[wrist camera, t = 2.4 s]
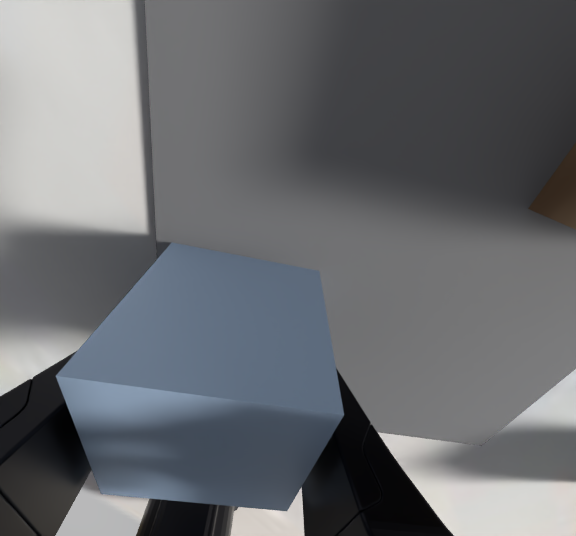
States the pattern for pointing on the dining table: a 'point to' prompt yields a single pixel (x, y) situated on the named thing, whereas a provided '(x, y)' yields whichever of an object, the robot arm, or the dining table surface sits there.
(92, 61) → the dining table surface
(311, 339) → the cube
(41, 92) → the dining table surface
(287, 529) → the dining table surface
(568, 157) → the tower base
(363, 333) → the placemat
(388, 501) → the robot arm
